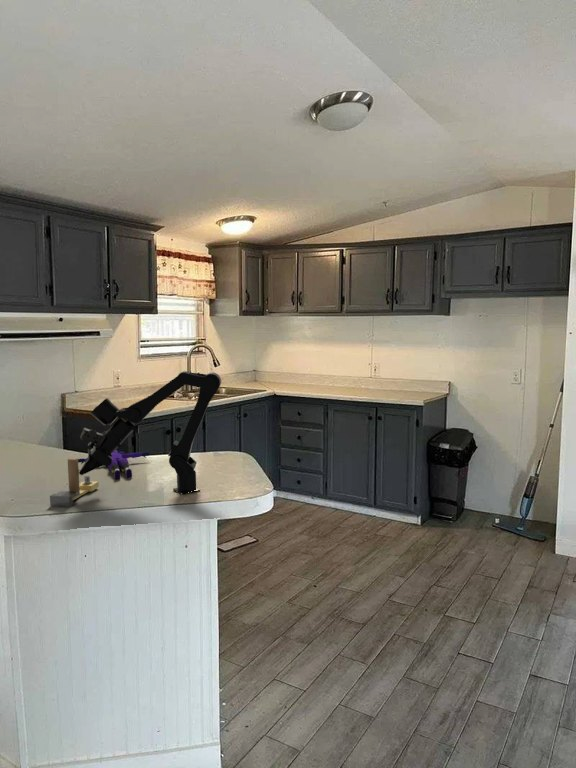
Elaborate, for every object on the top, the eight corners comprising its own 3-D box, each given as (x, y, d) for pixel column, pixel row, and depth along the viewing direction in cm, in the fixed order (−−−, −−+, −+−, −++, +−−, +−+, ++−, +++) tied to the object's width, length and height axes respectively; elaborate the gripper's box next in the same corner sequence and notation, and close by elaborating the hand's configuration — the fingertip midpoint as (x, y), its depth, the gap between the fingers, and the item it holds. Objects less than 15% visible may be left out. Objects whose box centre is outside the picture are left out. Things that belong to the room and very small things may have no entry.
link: (84, 486, 182) (82, 451, 181) (98, 487, 182) (97, 451, 180) (57, 501, 167) (55, 463, 165) (72, 502, 166) (70, 463, 165)
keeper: (61, 499, 170) (61, 489, 170) (80, 500, 169) (79, 490, 169) (50, 506, 164) (49, 495, 163) (69, 507, 163) (68, 496, 163)
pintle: (97, 490, 179) (96, 476, 179) (83, 493, 177) (83, 479, 176) (91, 487, 183) (90, 474, 182) (78, 490, 180) (77, 476, 179)
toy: (162, 476, 199) (146, 457, 226) (162, 461, 198) (145, 444, 225) (81, 486, 187) (74, 465, 214) (81, 469, 187) (74, 451, 214)
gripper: (93, 414, 180) (58, 451, 177) (98, 423, 163) (59, 464, 160) (120, 436, 184) (86, 473, 181) (127, 447, 167) (89, 487, 164)
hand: (80, 474), depth 171 cm, fingers closed
